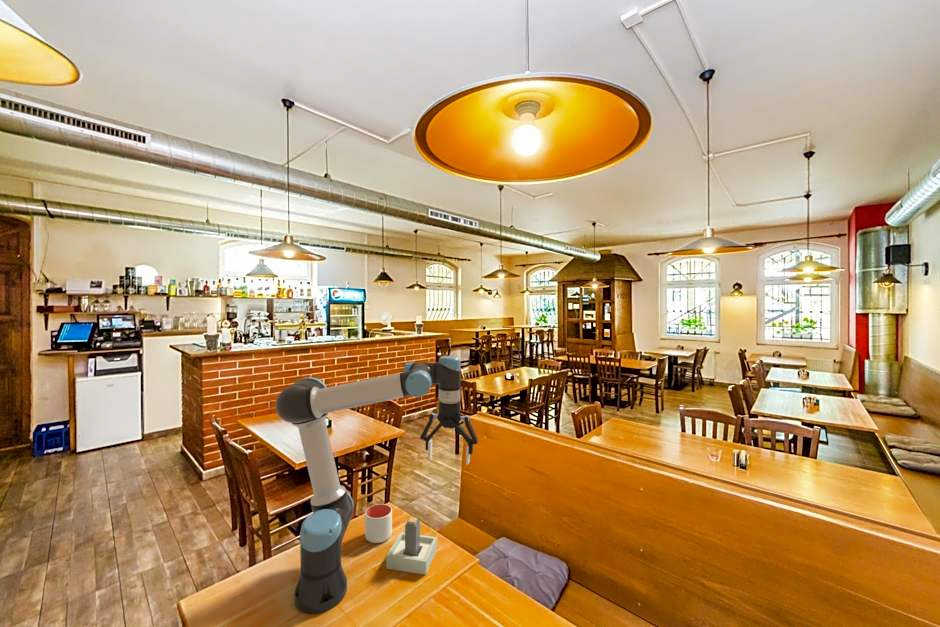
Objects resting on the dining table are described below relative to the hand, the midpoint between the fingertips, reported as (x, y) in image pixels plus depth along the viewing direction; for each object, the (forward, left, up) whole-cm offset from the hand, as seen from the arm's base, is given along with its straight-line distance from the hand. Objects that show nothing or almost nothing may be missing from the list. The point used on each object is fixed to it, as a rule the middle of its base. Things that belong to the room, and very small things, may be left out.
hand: (448, 461), depth 132 cm
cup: (-29, +6, -35) cm, 46 cm away
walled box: (-12, -3, -35) cm, 37 cm away
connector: (-12, -3, -35) cm, 37 cm away
